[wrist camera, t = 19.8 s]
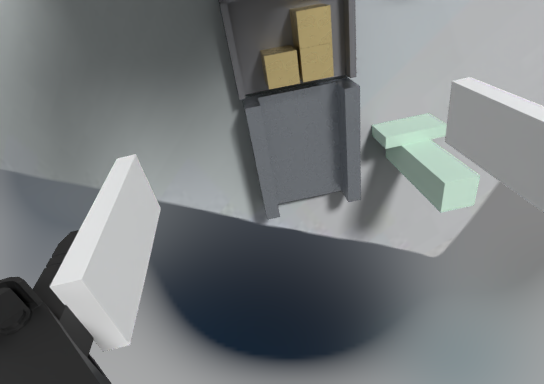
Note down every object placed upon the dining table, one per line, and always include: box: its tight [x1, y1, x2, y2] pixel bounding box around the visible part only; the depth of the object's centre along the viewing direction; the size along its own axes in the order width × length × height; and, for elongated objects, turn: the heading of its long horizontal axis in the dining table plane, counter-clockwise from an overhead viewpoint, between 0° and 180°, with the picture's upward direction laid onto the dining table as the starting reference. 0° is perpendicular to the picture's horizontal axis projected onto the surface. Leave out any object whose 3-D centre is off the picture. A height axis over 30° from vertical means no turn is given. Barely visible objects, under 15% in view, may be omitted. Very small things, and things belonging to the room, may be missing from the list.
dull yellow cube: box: [289, 3, 332, 49], centre depth 41 cm, size 4×4×4 cm
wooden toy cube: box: [260, 45, 300, 89], centre depth 43 cm, size 4×4×4 cm
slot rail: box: [243, 77, 361, 219], centre depth 50 cm, size 18×15×5 cm
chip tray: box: [219, 0, 356, 100], centre depth 43 cm, size 12×16×2 cm
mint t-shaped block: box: [372, 113, 480, 213], centre depth 47 cm, size 6×9×16 cm
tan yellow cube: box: [293, 43, 334, 82], centre depth 43 cm, size 4×4×4 cm
